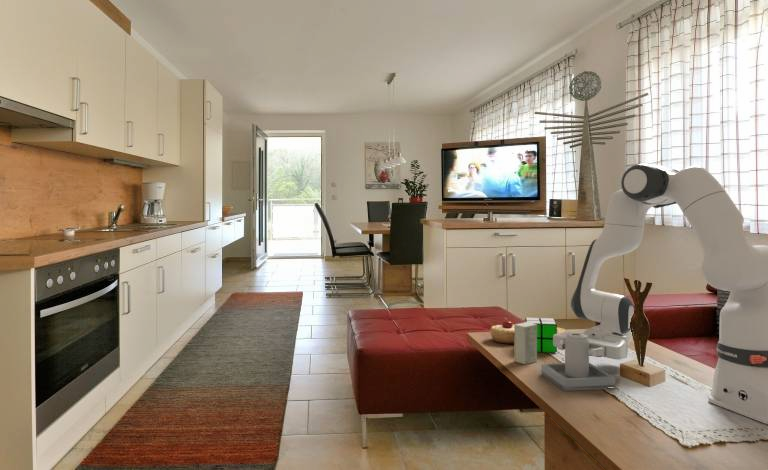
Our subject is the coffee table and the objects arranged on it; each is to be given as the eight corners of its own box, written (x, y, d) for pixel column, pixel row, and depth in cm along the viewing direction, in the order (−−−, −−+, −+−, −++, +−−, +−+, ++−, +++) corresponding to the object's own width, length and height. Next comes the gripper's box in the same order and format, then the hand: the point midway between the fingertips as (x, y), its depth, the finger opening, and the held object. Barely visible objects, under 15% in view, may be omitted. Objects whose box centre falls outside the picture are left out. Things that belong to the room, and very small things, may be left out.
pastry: (497, 346, 181) (497, 321, 181) (485, 338, 193) (485, 315, 192) (529, 344, 183) (529, 320, 183) (515, 336, 195) (515, 313, 194)
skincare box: (526, 358, 166) (526, 321, 165) (537, 361, 162) (537, 324, 161) (513, 361, 162) (513, 324, 162) (524, 364, 158) (524, 326, 158)
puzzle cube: (553, 346, 181) (554, 318, 180) (556, 353, 171) (557, 324, 171) (524, 344, 183) (525, 317, 183) (526, 352, 173) (526, 323, 173)
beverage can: (585, 373, 146) (585, 332, 146) (591, 380, 140) (592, 337, 140) (562, 372, 147) (562, 331, 147) (568, 379, 141) (568, 337, 140)
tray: (614, 388, 136) (615, 377, 136) (564, 390, 135) (564, 379, 135) (587, 371, 151) (587, 362, 151) (541, 374, 149) (541, 363, 149)
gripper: (566, 325, 159) (542, 332, 150) (633, 336, 143) (610, 345, 134) (566, 345, 159) (542, 353, 150) (632, 358, 144) (610, 369, 134)
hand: (575, 349), depth 142 cm, fingers open, 8 cm apart
